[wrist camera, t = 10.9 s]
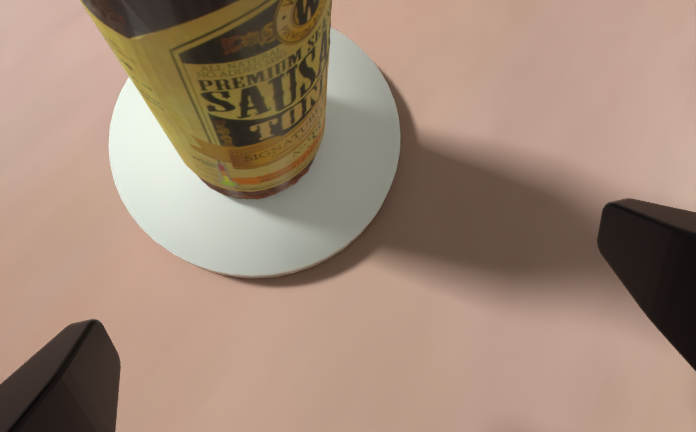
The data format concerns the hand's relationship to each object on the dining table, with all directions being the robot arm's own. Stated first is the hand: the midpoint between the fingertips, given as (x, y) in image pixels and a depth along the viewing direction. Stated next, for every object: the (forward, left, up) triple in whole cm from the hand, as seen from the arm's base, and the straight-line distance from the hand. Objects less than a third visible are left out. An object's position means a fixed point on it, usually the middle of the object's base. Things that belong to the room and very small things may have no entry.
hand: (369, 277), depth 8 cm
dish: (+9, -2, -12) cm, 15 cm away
